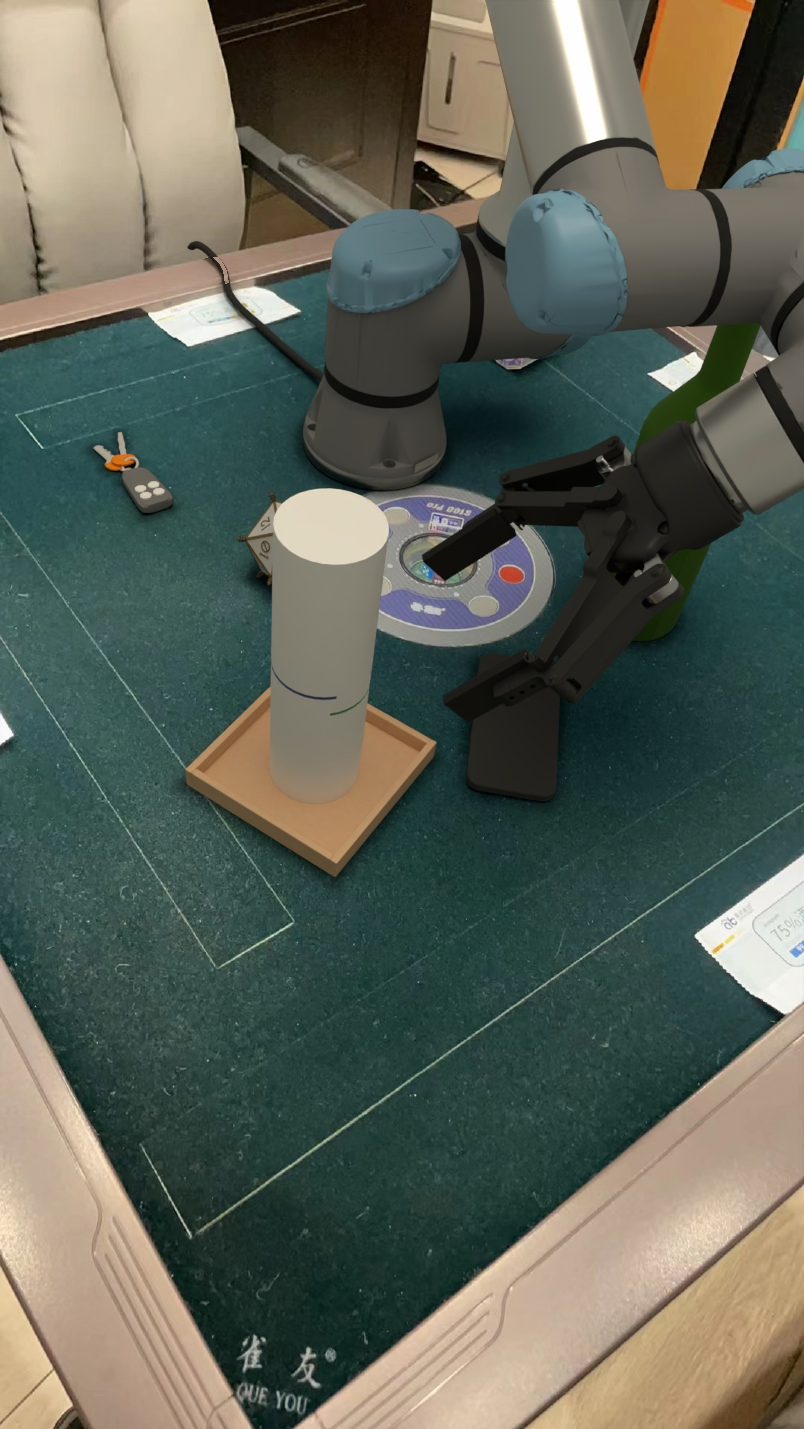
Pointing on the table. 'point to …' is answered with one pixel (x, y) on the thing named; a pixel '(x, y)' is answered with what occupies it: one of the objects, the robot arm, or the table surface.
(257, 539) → the game die
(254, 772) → the tray
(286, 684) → the cylindrical container
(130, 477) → the key chain
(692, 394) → the wine bottle
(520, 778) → the phone
